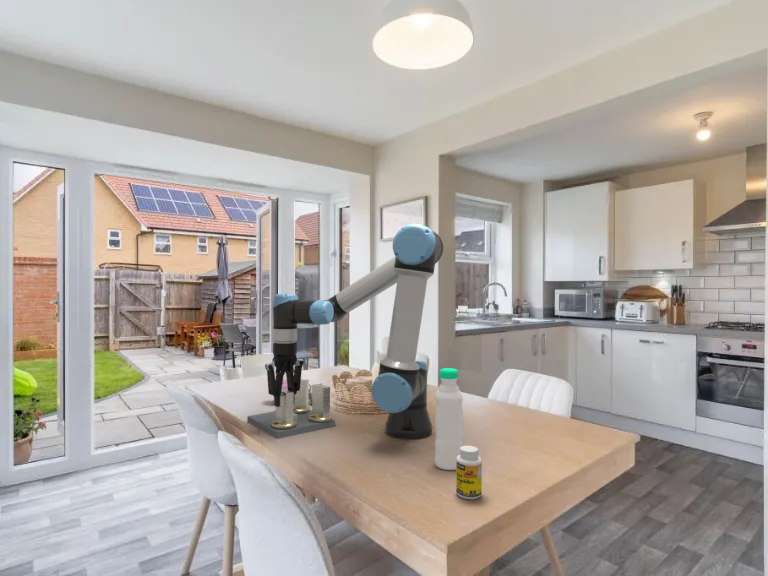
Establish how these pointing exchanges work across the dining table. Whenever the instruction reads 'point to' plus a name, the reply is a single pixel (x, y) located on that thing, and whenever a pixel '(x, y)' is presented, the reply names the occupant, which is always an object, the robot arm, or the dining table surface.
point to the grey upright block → (320, 404)
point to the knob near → (286, 412)
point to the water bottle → (448, 420)
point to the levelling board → (303, 426)
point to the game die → (310, 393)
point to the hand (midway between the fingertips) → (284, 415)
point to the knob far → (301, 398)
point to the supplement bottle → (468, 473)
